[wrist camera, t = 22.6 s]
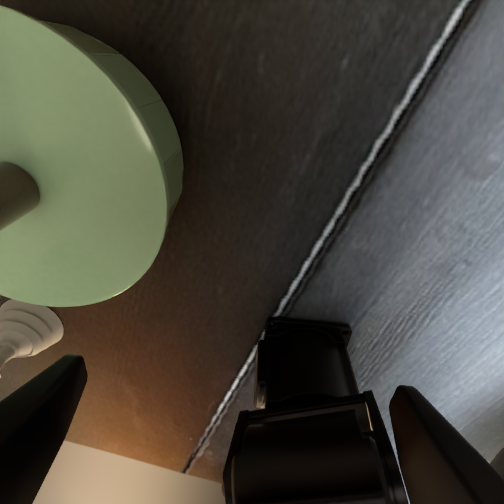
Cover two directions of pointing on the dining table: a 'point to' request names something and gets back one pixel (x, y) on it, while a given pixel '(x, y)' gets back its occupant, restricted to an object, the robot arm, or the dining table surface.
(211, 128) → the dining table surface
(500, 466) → the bowl of black rocks
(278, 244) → the dining table surface
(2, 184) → the pot lid
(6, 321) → the chalice
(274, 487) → the robot arm
